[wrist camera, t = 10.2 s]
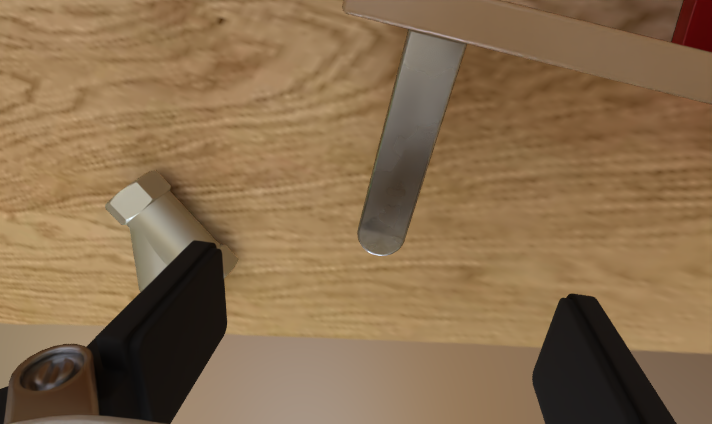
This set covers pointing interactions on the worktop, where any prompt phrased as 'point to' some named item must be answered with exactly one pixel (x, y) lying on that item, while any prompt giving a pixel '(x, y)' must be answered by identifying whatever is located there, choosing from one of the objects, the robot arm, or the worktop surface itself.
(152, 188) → the pipe fitting
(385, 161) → the cabinet door
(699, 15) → the valve cabinet
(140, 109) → the worktop surface
